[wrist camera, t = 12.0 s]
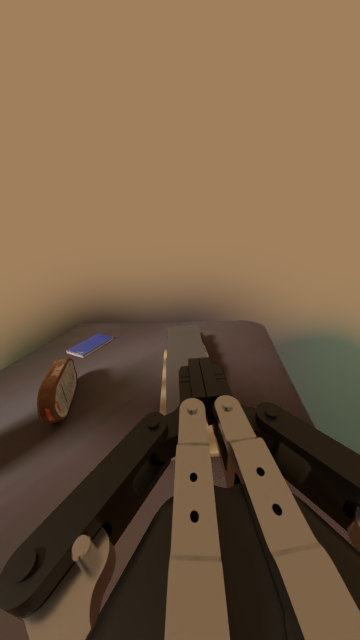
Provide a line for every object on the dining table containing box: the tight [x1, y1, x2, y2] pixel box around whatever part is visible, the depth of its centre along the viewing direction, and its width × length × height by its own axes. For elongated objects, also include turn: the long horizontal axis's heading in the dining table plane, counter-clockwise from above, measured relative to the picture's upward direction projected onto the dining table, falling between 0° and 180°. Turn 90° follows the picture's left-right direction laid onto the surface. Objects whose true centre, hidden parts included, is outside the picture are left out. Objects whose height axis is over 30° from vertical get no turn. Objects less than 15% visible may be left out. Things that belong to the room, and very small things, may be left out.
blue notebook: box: [67, 334, 114, 358], centre depth 62 cm, size 2×8×12 cm
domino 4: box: [166, 354, 207, 415], centre depth 37 cm, size 2×9×12 cm
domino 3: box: [167, 343, 205, 358], centre depth 41 cm, size 2×9×12 cm
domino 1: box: [168, 325, 199, 336], centre depth 51 cm, size 2×9×12 cm
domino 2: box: [167, 333, 202, 346], centre depth 46 cm, size 2×9×12 cm
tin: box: [37, 358, 77, 425], centre depth 38 cm, size 15×3×8 cm, turn 16°
